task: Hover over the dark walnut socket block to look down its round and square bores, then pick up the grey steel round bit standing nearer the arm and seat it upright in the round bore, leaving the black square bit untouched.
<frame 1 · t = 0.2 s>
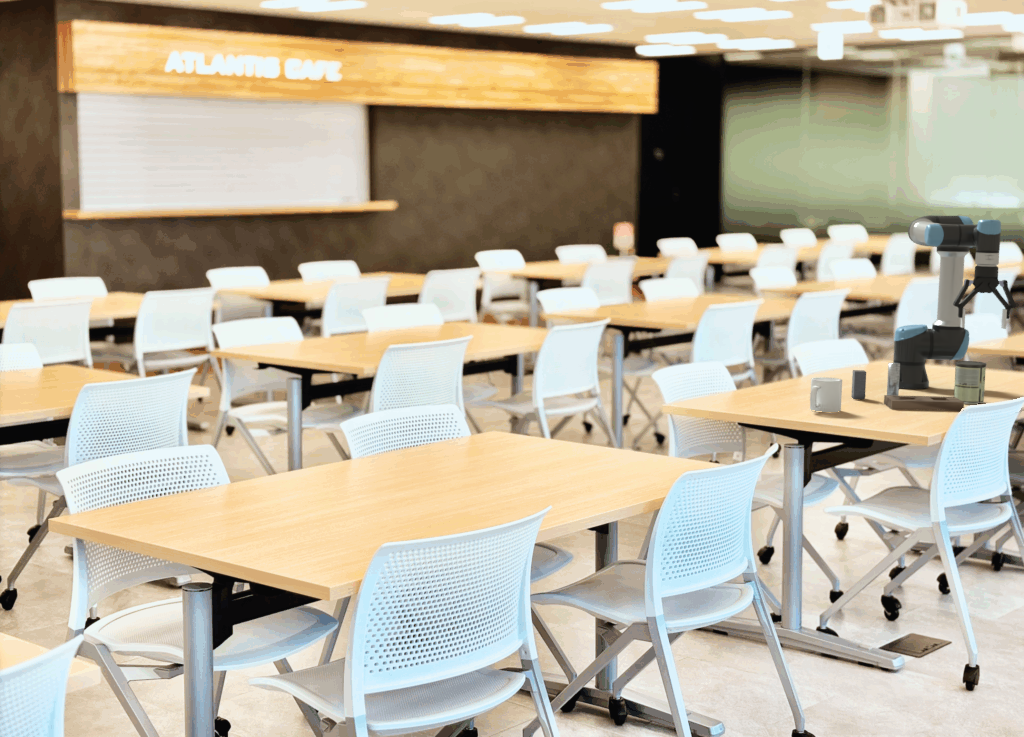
hand: (982, 328, 450), 28 cm above the table, fingers open, 13 cm apart
round bit: (892, 399, 471), on the table
mug: (823, 411, 444), on the table
square bit: (858, 398, 471), on the table
socket block: (923, 407, 454), on the table
coffee can: (968, 402, 467), on the table
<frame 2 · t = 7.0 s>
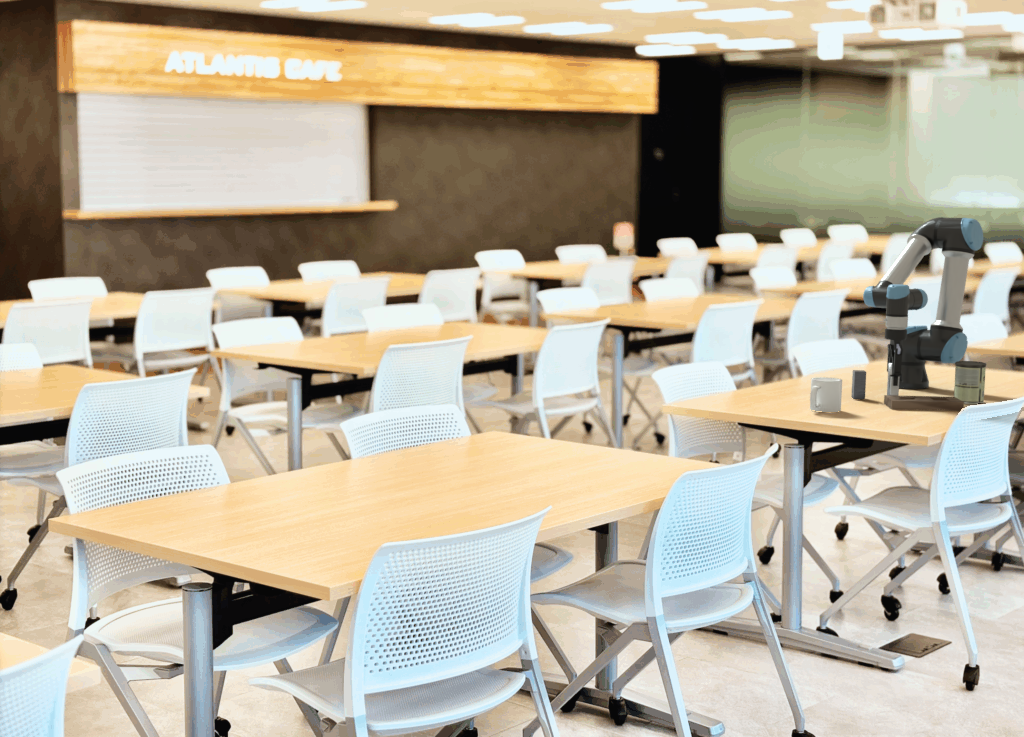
hand: (892, 393, 470), 2 cm above the table, fingers closed on round bit, 4 cm apart
round bit: (892, 399, 471), on the table, touching gripper
everything else where it was.
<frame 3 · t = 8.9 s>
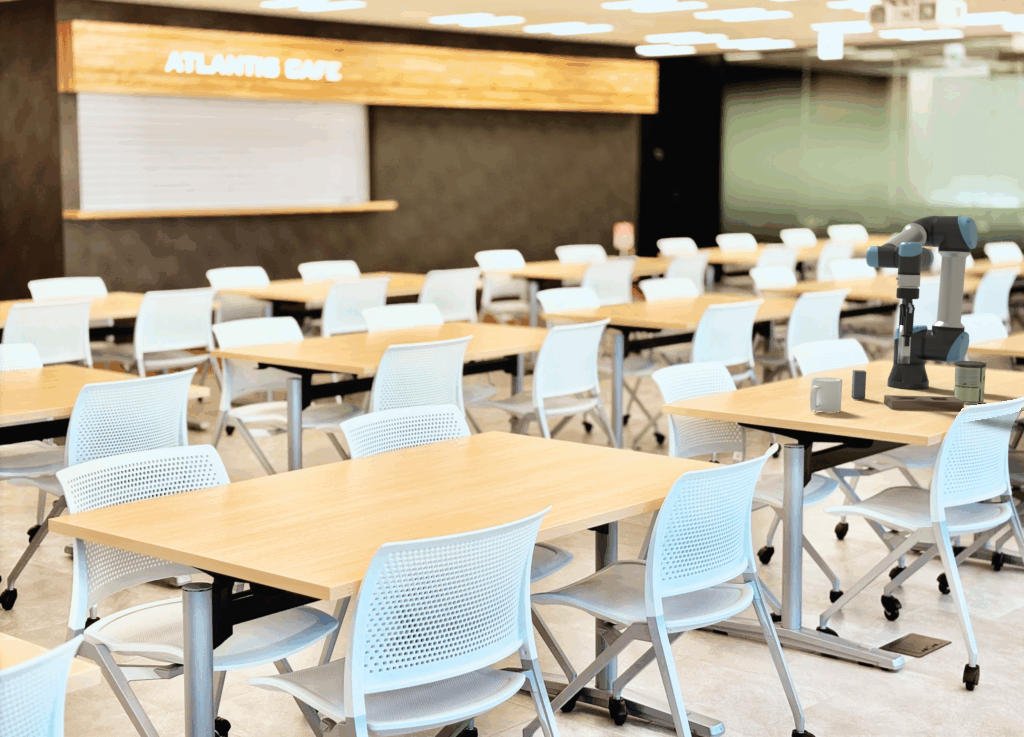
hand: (904, 354, 456), 17 cm above the table, fingers closed on round bit, 4 cm apart
round bit: (903, 363, 457), point 15 cm above the table, touching gripper
everything else where it was.
when the fingers open (4 cm above the table, at t = 11.2 s): round bit drops 1 cm, resting in socket block.
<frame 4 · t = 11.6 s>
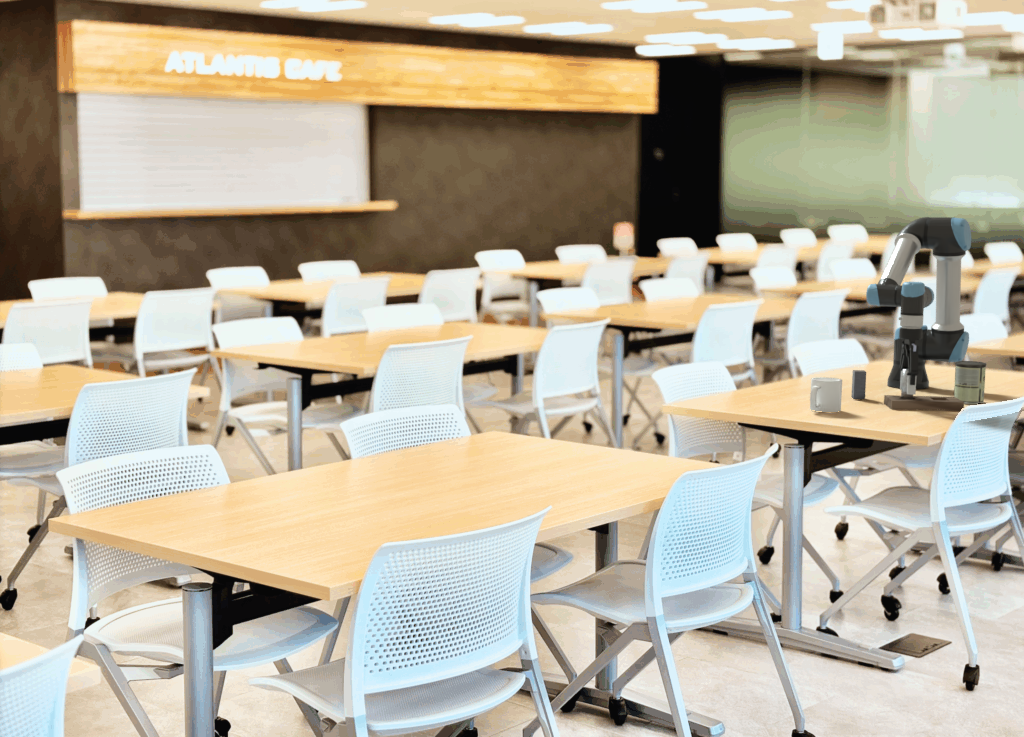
hand: (907, 391, 454), 5 cm above the table, fingers open, 10 cm apart
round bit: (906, 406, 455), resting in socket block
everything else where it was.
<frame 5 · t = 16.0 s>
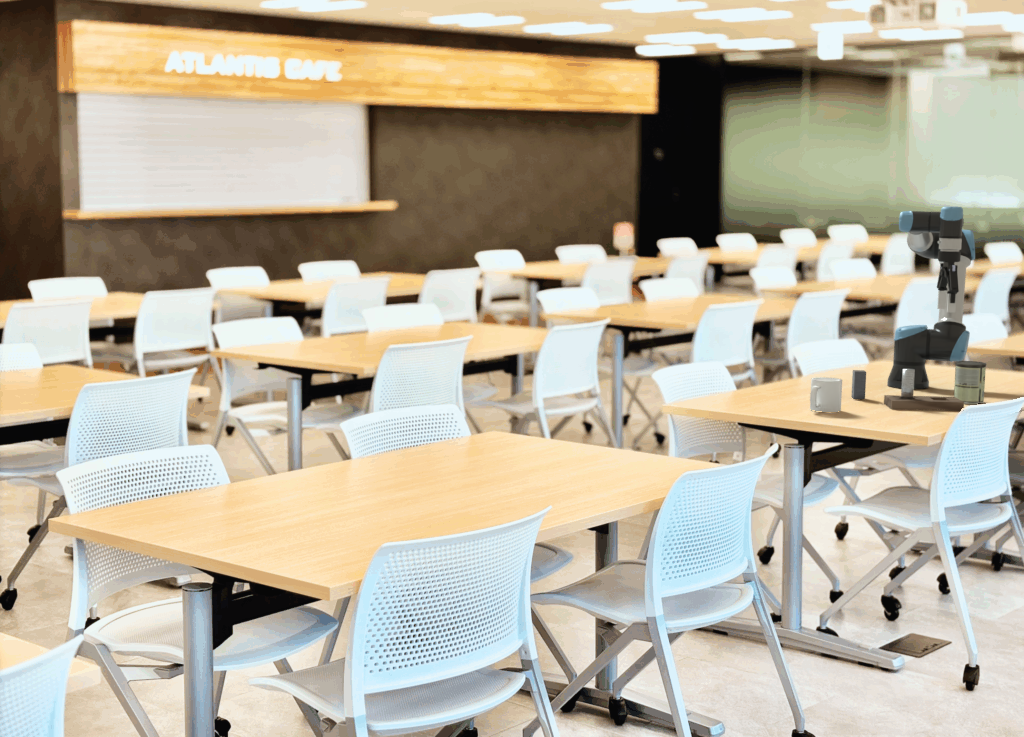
hand: (946, 310, 469), 32 cm above the table, fingers open, 13 cm apart
nothing on the table moved.
at the end: round bit 0.0 cm from the target spot on the socket block, point 0.0 cm above the socket block's base; round bit tilted 0°; square bit moved 0.0 cm from its start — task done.
